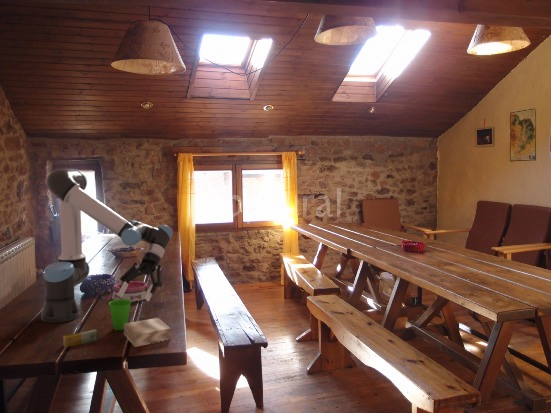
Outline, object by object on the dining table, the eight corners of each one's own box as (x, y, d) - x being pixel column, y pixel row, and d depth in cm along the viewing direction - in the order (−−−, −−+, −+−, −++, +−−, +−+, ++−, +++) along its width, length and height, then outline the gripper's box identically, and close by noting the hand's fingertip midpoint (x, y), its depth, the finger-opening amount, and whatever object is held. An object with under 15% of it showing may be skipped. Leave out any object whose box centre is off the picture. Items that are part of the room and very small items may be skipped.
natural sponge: (133, 286, 255) (133, 268, 254) (124, 283, 261) (124, 266, 260) (147, 283, 261) (147, 266, 260) (139, 280, 267) (139, 263, 266)
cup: (136, 327, 193) (136, 301, 192) (118, 334, 186) (118, 307, 185) (121, 323, 198) (121, 297, 197) (103, 329, 190) (103, 303, 189)
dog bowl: (117, 292, 244) (117, 279, 243) (153, 292, 245) (153, 280, 244) (106, 303, 225) (106, 289, 225) (145, 303, 226) (145, 289, 226)
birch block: (134, 348, 173) (134, 335, 173) (124, 335, 185) (123, 323, 184) (170, 340, 181) (170, 328, 181) (158, 329, 193) (158, 317, 192)
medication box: (96, 338, 181) (95, 328, 181) (98, 340, 179) (98, 330, 179) (63, 345, 174) (62, 335, 173) (65, 348, 172) (64, 337, 171)
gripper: (180, 263, 208) (162, 305, 195) (133, 258, 216) (113, 298, 204) (174, 253, 202) (154, 296, 190) (126, 249, 210) (104, 290, 198)
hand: (133, 298), depth 197 cm, fingers open, 13 cm apart
